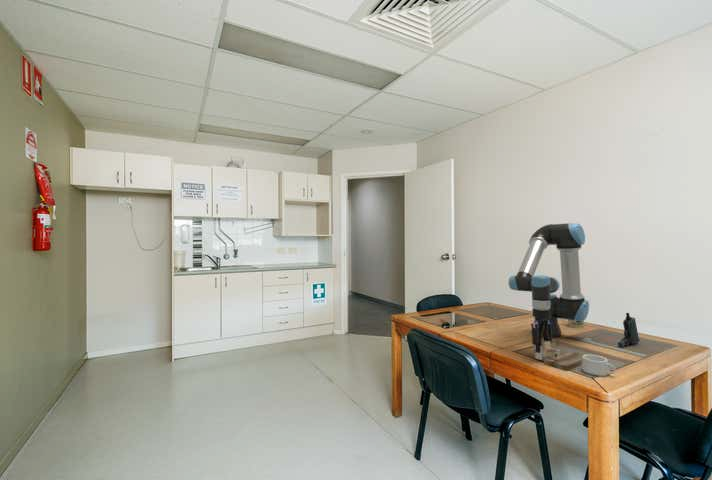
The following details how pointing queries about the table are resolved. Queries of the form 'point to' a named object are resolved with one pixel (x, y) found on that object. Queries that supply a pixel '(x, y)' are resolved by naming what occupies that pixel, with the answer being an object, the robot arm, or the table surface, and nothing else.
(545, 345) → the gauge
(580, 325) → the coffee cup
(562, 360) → the board
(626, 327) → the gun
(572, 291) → the robot arm
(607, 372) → the mug
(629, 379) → the table surface
